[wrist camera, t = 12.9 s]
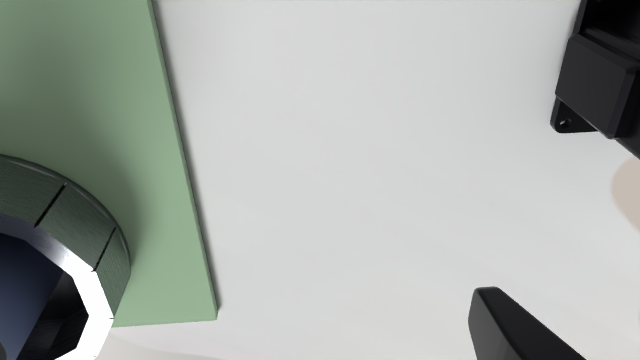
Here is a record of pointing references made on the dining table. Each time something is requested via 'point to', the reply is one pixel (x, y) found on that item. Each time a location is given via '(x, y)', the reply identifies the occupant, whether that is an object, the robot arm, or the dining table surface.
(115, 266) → the cup
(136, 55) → the putting mat
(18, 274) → the golf ball sleeve
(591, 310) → the dining table surface
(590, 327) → the dining table surface
